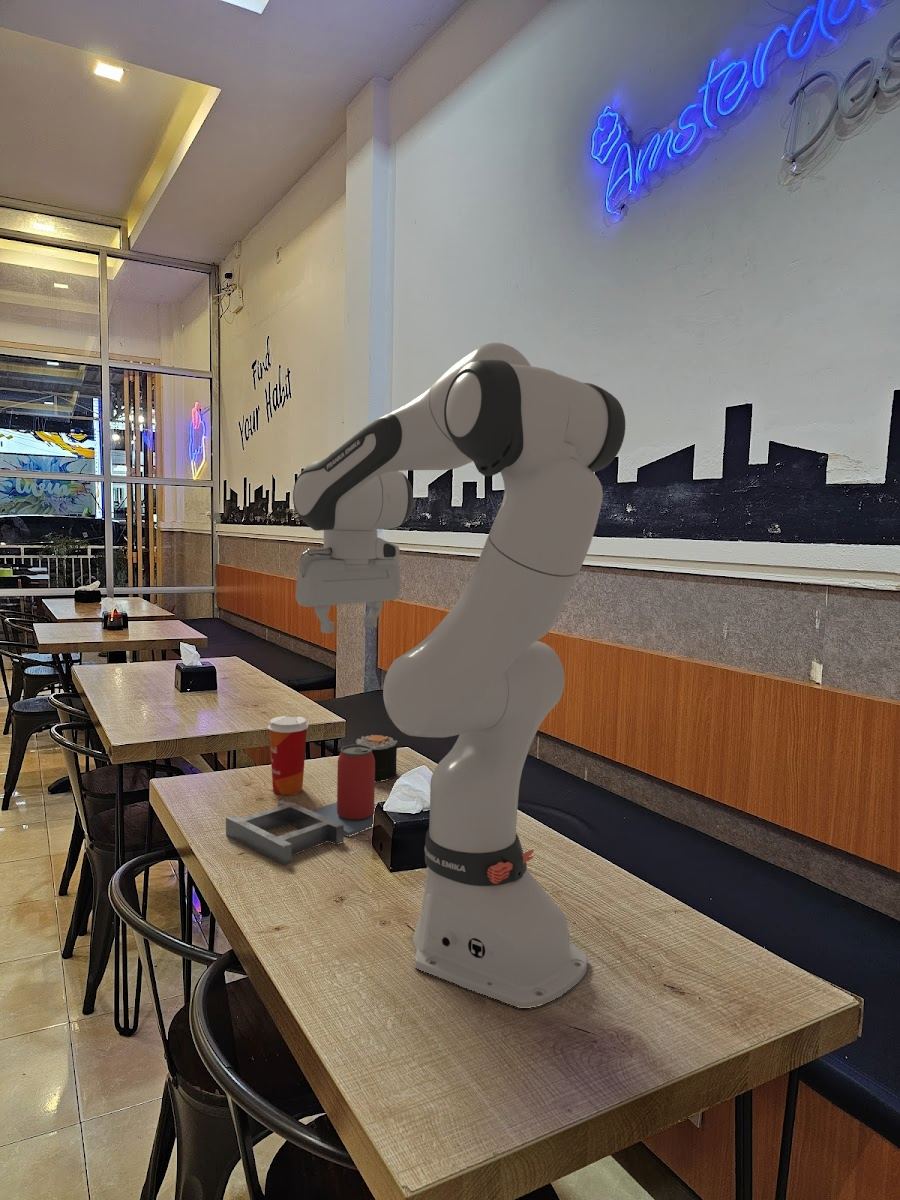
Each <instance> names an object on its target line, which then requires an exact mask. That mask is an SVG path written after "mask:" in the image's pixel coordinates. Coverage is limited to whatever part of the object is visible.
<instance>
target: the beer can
mask: <svg viewBox="0 0 900 1200" xmlns="http://www.w3.org/2000/svg"><path fill="white" fill-rule="evenodd" d="M336 774H337V778H336V779H337V781H336V782H337V783H336V785H337V787H336V793H337V794H336V796H337V797H336V802H337V813H338V815H339V816H340V817H341V818H344V819H347V820H363V819H366V818H369V817H370V816H371V815H372V814H373V812H374V804H375V794H376V793H375V788H376V787H375V786H376V782H375V759H374V756H373V753H372V748H371V747H369V746H366V745H356V744H348V745H345V746H343V747H341V748H340V753H339V756H338V759H337V773H336Z"/></svg>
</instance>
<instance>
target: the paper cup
mask: <svg viewBox="0 0 900 1200" xmlns="http://www.w3.org/2000/svg"><path fill="white" fill-rule="evenodd" d="M267 728H268V730H269V742H270V743H269V744H270V763H271V765H270V766H271V778H272V779H271V780H272V781H271V782H272V791H273V793H274V794H276V795H281V796H292V795H296V794H297V795H298V794H300V793H301V792H302V790H303V784H304V775H305V774H304V771H305V756H306V743H307V730H308V728H309V724H308V723H307V719H306V718H305V717H303V716H297V717H296V716H295V715H293V716H292V715H289V716H287V715H283V716H277V717H273V718H271V719H270V720H269V725H268V726H267Z"/></svg>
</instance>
